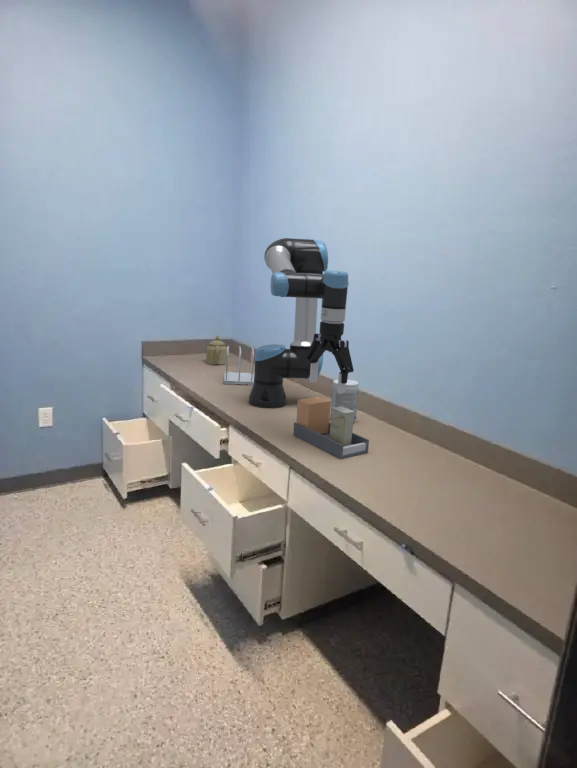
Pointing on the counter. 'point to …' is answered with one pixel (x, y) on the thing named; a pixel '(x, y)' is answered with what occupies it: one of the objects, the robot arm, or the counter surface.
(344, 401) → the supplement tub
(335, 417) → the skincare box
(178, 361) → the counter surface
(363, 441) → the tray
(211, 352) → the sugar bowl
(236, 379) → the file sorter
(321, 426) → the block
